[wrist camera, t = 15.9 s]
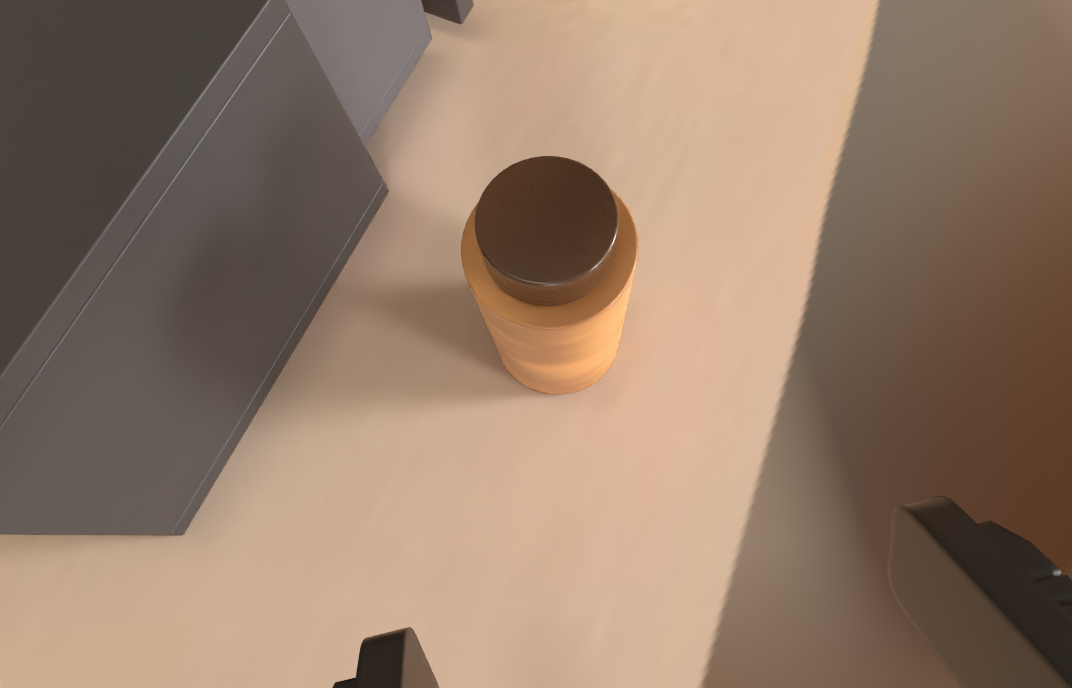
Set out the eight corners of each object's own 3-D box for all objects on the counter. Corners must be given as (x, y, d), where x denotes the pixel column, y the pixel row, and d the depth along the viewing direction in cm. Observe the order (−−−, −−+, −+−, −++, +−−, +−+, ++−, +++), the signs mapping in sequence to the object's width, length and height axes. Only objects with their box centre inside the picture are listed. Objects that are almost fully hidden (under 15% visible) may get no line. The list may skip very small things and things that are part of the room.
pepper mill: (475, 363, 25) (415, 263, 16) (529, 259, 26) (502, 109, 17) (588, 415, 24) (595, 340, 15) (639, 305, 25) (674, 174, 16)
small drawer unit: (137, 85, 30) (-91, -148, 20) (390, 190, 27) (278, -14, 17) (-85, 384, 26) (-506, 286, 16) (183, 536, 24) (-113, 535, 14)
